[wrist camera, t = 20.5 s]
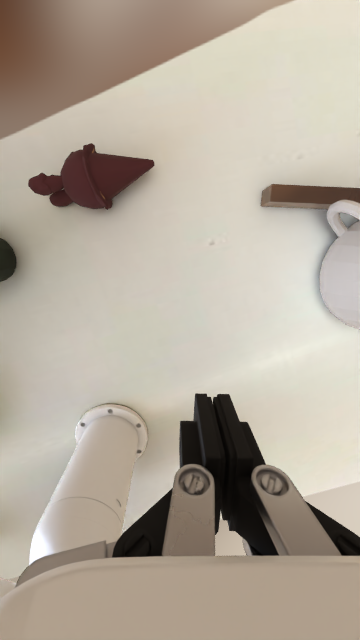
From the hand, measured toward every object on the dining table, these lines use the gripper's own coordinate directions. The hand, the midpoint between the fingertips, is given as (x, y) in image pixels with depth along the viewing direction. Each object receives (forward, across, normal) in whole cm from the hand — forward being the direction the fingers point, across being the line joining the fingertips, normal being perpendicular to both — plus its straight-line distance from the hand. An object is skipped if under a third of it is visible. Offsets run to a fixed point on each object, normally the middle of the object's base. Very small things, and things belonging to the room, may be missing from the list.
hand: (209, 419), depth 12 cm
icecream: (+27, +12, -16) cm, 34 cm away
